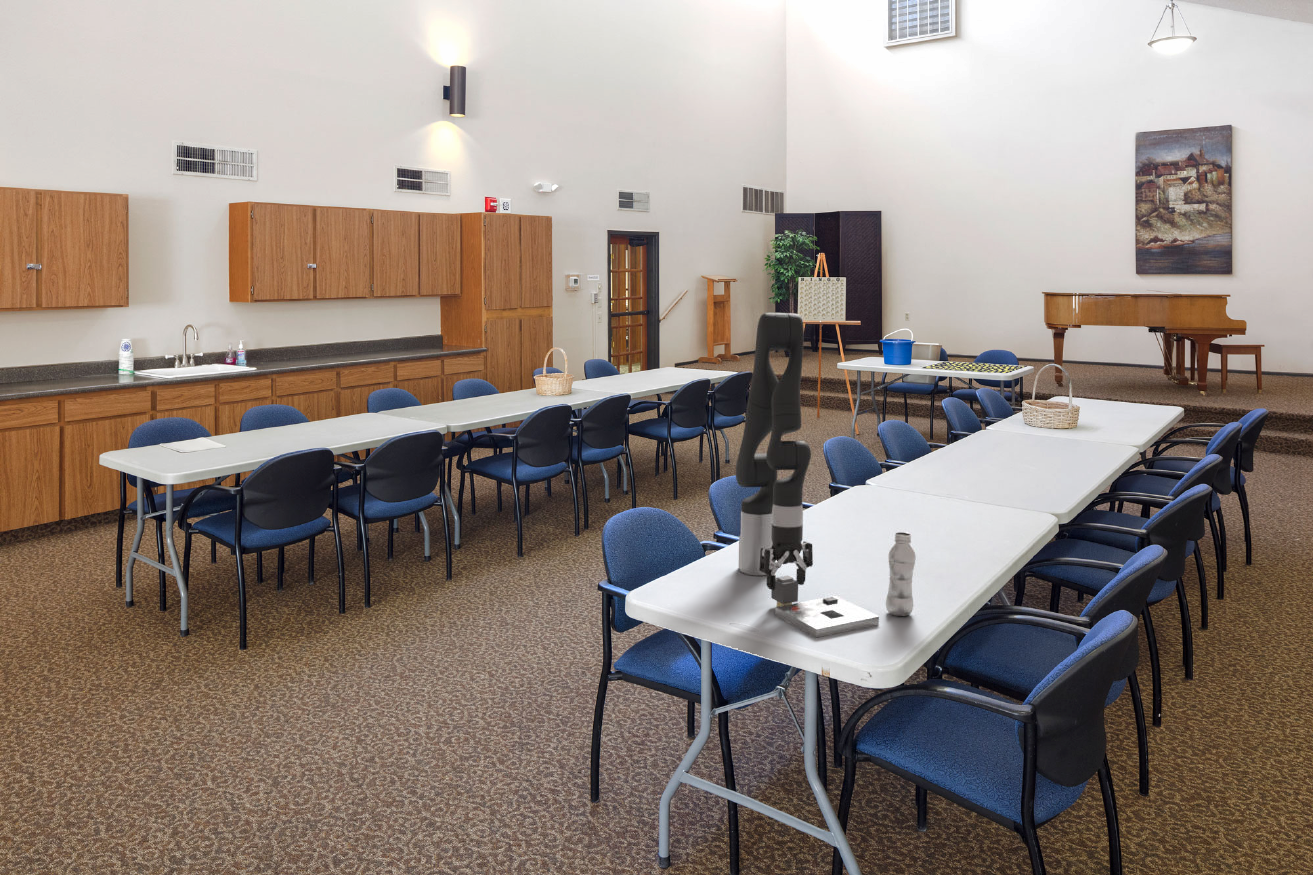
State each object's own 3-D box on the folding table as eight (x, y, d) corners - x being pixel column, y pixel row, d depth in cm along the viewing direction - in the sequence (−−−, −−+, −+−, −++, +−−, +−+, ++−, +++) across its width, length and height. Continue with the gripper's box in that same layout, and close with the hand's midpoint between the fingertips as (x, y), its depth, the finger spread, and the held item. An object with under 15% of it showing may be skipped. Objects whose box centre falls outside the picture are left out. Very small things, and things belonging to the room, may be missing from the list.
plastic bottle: (907, 609, 218) (911, 530, 215) (916, 619, 211) (920, 537, 208) (881, 609, 218) (885, 530, 215) (889, 619, 211) (893, 538, 208)
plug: (771, 605, 220) (771, 576, 219) (785, 602, 222) (786, 573, 221) (782, 611, 216) (783, 581, 215) (797, 609, 218) (798, 579, 217)
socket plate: (775, 615, 214) (775, 603, 213) (835, 603, 222) (835, 592, 221) (816, 637, 200) (816, 625, 199) (878, 624, 208) (879, 613, 207)
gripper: (801, 515, 222) (800, 578, 224) (754, 522, 216) (753, 586, 218) (820, 522, 215) (818, 586, 218) (771, 528, 209) (770, 595, 211)
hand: (785, 586), depth 218 cm, fingers open, 8 cm apart
